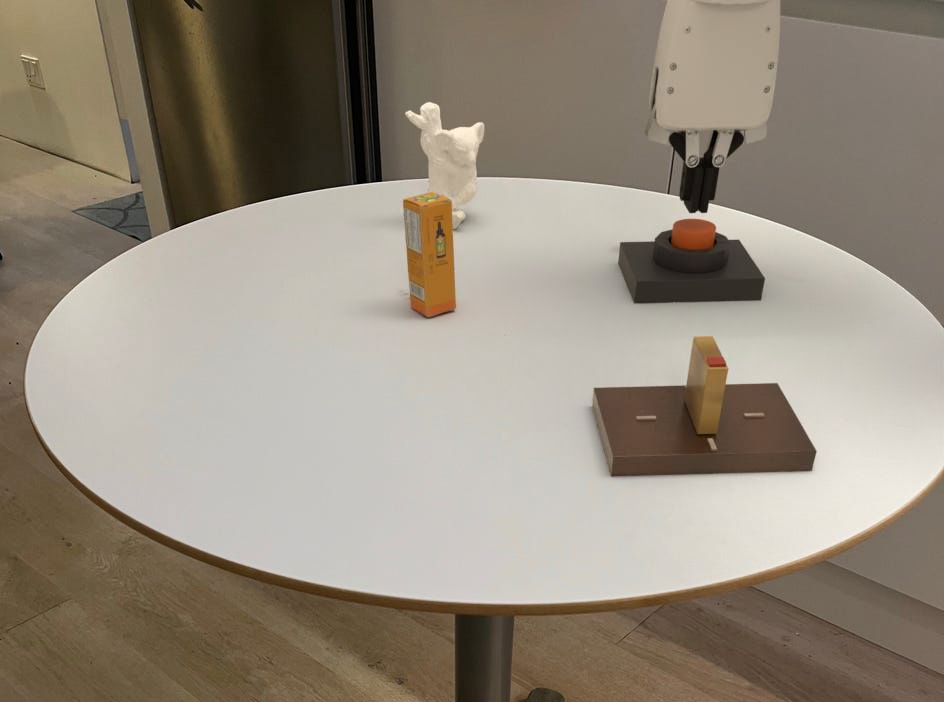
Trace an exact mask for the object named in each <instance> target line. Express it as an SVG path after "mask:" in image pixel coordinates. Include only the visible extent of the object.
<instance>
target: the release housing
mask: <svg viewBox="0 0 944 702" xmlns="http://www.w3.org/2000/svg"><path fill="white" fill-rule="evenodd" d="M672 230H673V228H672V229H667V230H664V231H661V232H660V233H659V234H657V236H655V238H654V241H652V240H651V241H620V242H619V248H618V249H619V251H618V263H617V264H618V267H619V269H620V271H621V274H622V276H623V279H624V282H625V284H626V286H627V289H628V291H629V294H630V297H631V299H632V302H633V304H636V305H637V304H671V303H672V304H673V303H674V302H675V303H678V302H679V303H710V302H711V303H715V302H716V303H717V302H757V301H762V297H763V292H764V286H765V282H766V278H765V276H764V274H763V273H762V271H761V270H760V268H759V267H758V265H757V264H756V263H755V261H754V259H753V258H752V256H751V255H750V253H749V252H748V250H747V249H746V247H745V246H744V244H743V243H742V242H741V240H740V239H729V238H728V237H727V236H726V235H724V234H722V233H719V232H717V231H716V232H715V239H714V245H713V247H711V248H708V249H699V250H690V249H684V248H678V247H676V246H674V245H672V244H671V238H672ZM675 303H674V304H675ZM679 303H678V304H679Z"/></svg>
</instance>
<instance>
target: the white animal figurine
mask: <svg viewBox="0 0 944 702" xmlns="http://www.w3.org/2000/svg"><path fill="white" fill-rule="evenodd" d="M440 108H441V107H440V106H439V105H438V104H437V103H435V102H431V101H428V102H426V103H424V104H422V105H421V106H420V108H419V111H420V114H417V113H415V112H413V110H410V109H409V110H408V111H405V113H404V115H405V117H406V118H407V119H408V120H409V122H411V123H412V124H413V125H414V126H416V127H417V128H418V129H420V130H421V133H420V142H419V143H420V147H421V149H422V152H424V154H425V155H426V156H427V160H428V165H427V169H428V176H427V177H428V180H427V182H428V189H427V191H426V193H429V192H433V193H436V194H439V195H442V196H444V197H446V198H449V199H451V200H452V222H453V230H456V229H458V228H459V227H460V225H461V223H462V222H463V221H465V219H466V218H467V212H466V211H465V210H463V209H459V208H458V207H460V206H464V205H467V204H468V203H470V202H472V200H474V199H475V198H476V195H477V191H478V190H477V189H478V188H477V177H478V176H477V175H478V172H477V171H478V170H477V165H476V163H477V156H478V153H479V148H480V144H481V143H482V142H483V140H484V136H485V129H486V128H485V124H484V122H482V121H481V122H479V121H478V122H476V123H475V124H473V125H472V126H469V127H468V126H466V127H465V126H458V127H456V128H452V129H450V130H449V129H448V130H447V129H443V128H442V120H441V109H440Z"/></svg>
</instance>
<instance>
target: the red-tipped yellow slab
mask: <svg viewBox="0 0 944 702" xmlns="http://www.w3.org/2000/svg"><path fill="white" fill-rule="evenodd" d="M728 373H729V367H728V365H727V362H726V360H725V357H724V356H723V355H722V352H721V349H720V348H719V346H718V344H717V342H716V340H715V338H714V336H712V335H707V336H706V335H703V336H693V339H692V344H691V352H690V359H689V365H688V371H687V376H686V377H687V378H686V391H685V398H684V401H685V404H686V406H687V409H688V411H689V414H690V416H691V419H692V421H693V424H694V427H695V429H696V432H697V434H717V430H718V424H719V419H720V413H721V407H722V402H723V396H724V390H725V385H726V384H727V379H728Z"/></svg>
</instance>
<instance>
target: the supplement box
mask: <svg viewBox="0 0 944 702" xmlns="http://www.w3.org/2000/svg"><path fill="white" fill-rule="evenodd" d="M402 206H403V220H404V222H403V223H404V236H405V249H406V264H407V275H408V287H409V299H410V300H409V301H410V302H409V303H410V307H411V309H412V310H414V311H416V312H417V313H419V314H421V315H422V316H424V317H426V318H432V317H435V316H437V315H441V314H443V313H447V312H452V311H455V310H456V308H457V301H456V299H457V298H456V297H457V296H456V274H455V251H454V249H455V247H454V229H453V222H452V200H451V199H449V198H446V197H444V196H442V195H439V194H436V193H433V192H429V193H427V192H425V193H422V194H418V195H413V196H411V197H406V198H403V200H402Z"/></svg>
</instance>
